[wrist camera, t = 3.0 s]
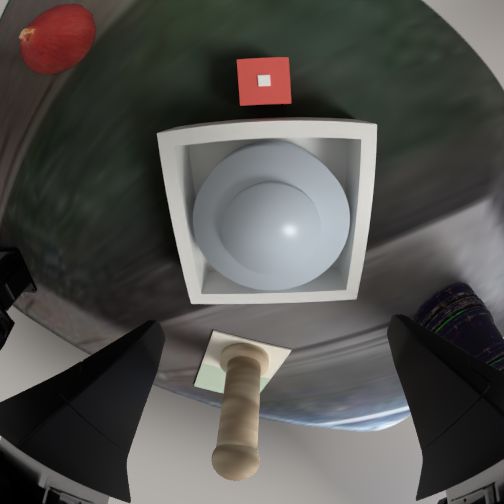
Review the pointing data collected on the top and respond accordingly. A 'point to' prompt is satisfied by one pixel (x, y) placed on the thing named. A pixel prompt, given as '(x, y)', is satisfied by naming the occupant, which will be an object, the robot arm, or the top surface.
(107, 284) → the top surface
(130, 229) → the top surface
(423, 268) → the top surface
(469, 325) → the dark blue cylinder
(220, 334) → the game track
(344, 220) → the dome button
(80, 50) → the onion
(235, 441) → the beech pawn
